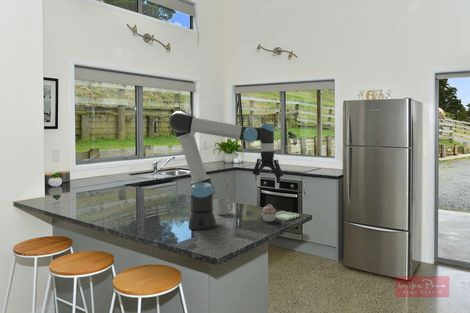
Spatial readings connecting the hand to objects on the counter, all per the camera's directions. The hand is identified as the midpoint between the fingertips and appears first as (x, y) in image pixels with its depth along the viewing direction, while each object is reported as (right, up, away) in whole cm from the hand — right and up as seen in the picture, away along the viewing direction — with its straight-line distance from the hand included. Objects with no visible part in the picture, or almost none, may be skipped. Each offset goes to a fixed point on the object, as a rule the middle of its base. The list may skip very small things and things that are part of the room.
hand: (267, 187), depth 225 cm
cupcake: (+1, -19, 0) cm, 19 cm away
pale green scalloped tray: (+11, -18, +8) cm, 23 cm away
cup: (-25, -18, +19) cm, 36 cm away
